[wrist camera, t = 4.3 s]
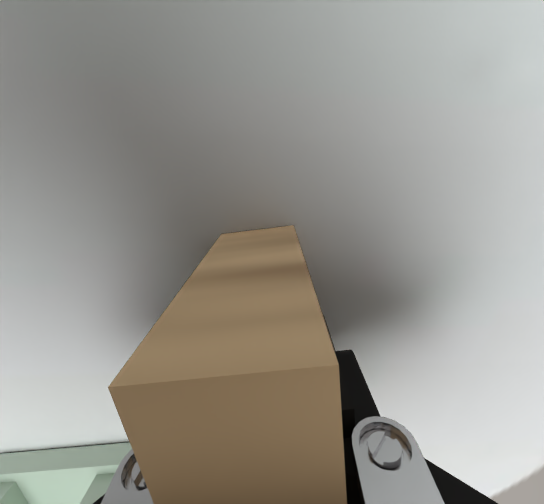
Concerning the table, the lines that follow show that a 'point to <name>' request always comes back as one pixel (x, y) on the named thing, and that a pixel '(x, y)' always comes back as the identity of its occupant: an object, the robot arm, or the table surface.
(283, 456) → the oak board
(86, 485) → the dish rack
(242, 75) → the table surface
